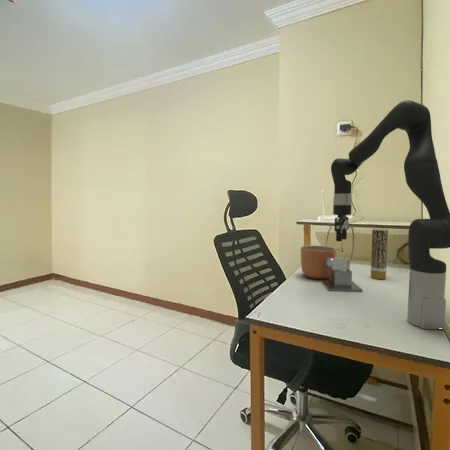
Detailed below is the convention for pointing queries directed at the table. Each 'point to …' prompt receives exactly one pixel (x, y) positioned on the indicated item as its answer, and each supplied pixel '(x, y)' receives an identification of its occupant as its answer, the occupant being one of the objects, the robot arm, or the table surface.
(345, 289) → the duct socket
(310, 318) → the table surface
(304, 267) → the planter
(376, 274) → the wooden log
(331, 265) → the silver block with cylinder
